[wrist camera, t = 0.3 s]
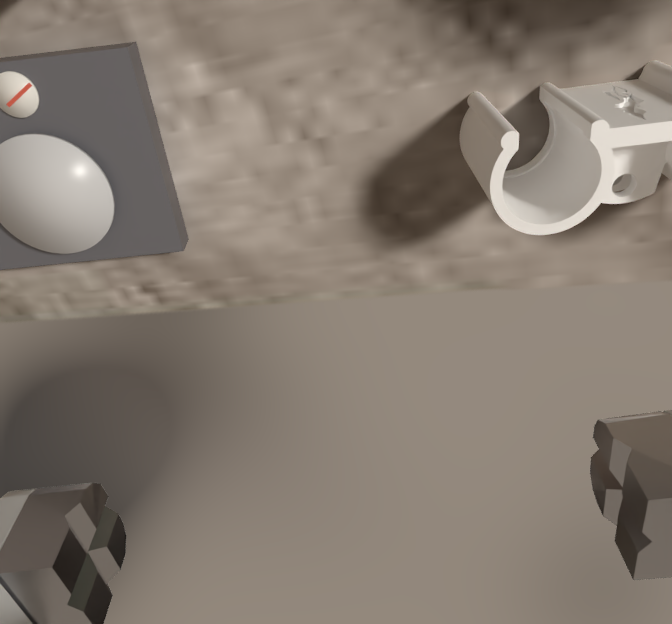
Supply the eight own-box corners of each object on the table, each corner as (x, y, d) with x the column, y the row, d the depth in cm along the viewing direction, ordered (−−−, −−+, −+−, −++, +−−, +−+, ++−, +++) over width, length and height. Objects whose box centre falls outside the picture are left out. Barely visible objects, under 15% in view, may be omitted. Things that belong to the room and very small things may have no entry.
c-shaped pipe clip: (459, 191, 56) (488, 249, 46) (458, 84, 51) (491, 124, 41) (731, 158, 55) (823, 211, 45) (759, 45, 50) (870, 76, 40)
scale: (-99, 69, 50) (-127, 79, 47) (136, 42, 49) (122, 49, 46) (-9, 259, 60) (-27, 278, 56) (188, 239, 59) (180, 256, 56)
